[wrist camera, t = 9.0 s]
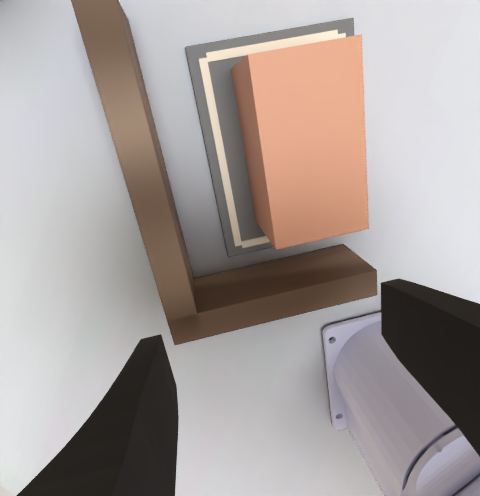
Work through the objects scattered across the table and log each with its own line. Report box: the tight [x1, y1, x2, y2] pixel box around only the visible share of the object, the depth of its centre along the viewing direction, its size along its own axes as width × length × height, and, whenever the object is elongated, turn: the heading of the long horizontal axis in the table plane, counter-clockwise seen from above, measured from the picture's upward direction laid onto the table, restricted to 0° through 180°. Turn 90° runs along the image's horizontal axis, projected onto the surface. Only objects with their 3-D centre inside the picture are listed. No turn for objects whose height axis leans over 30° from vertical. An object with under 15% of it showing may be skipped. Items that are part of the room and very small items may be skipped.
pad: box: [185, 18, 354, 257], centre depth 19 cm, size 11×8×1 cm
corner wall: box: [71, 0, 377, 345], centre depth 18 cm, size 15×11×4 cm
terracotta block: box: [231, 34, 369, 250], centre depth 17 cm, size 4×8×4 cm, turn 10°
